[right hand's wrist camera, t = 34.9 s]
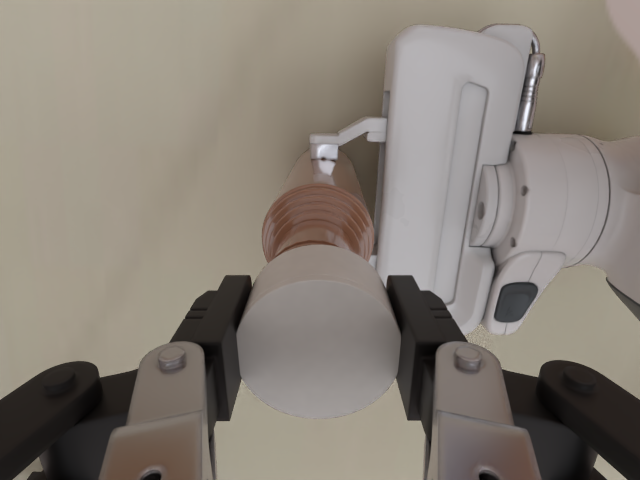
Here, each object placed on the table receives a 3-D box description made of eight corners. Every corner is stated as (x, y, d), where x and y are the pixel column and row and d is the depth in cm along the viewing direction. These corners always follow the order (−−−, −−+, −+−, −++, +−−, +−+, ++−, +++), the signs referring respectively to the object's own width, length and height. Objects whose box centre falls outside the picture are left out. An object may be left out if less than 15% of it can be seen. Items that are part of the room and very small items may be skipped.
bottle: (367, 167, 31) (424, 273, 12) (333, 219, 32) (335, 381, 14) (313, 132, 30) (284, 187, 11) (280, 187, 32) (207, 314, 13)
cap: (229, 336, 12) (210, 387, 10) (281, 220, 11) (271, 252, 9) (349, 381, 13) (355, 438, 11) (414, 277, 12) (435, 320, 9)
